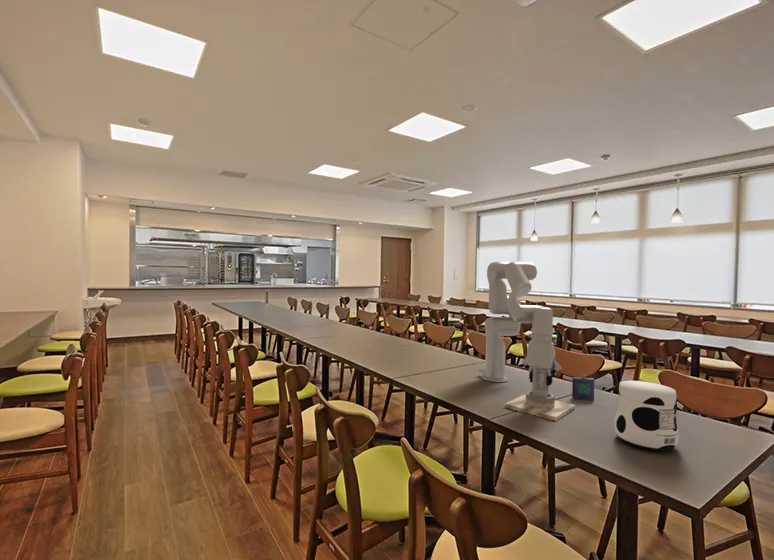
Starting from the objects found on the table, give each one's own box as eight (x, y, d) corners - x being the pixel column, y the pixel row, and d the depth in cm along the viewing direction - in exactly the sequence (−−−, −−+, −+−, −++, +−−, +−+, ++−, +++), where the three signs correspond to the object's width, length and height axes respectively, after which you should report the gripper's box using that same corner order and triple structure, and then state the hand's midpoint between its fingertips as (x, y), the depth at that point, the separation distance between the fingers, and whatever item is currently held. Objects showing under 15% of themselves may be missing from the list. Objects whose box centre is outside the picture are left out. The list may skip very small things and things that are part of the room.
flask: (592, 398, 172) (593, 373, 171) (595, 400, 169) (596, 375, 168) (570, 397, 172) (571, 373, 172) (573, 399, 169) (574, 374, 169)
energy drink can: (547, 396, 158) (548, 359, 158) (549, 401, 152) (550, 362, 152) (531, 394, 160) (532, 358, 160) (532, 399, 154) (534, 361, 154)
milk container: (618, 428, 137) (620, 376, 137) (680, 442, 126) (682, 386, 126) (608, 443, 124) (610, 387, 124) (676, 461, 113) (679, 399, 113)
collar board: (504, 407, 156) (505, 393, 156) (526, 397, 170) (526, 384, 170) (556, 421, 142) (556, 406, 142) (574, 408, 157) (575, 395, 157)
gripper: (517, 336, 159) (515, 380, 159) (560, 342, 147) (559, 390, 148) (525, 334, 165) (523, 377, 165) (567, 340, 153) (566, 386, 153)
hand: (540, 383), depth 156 cm, fingers closed on energy drink can, 5 cm apart
